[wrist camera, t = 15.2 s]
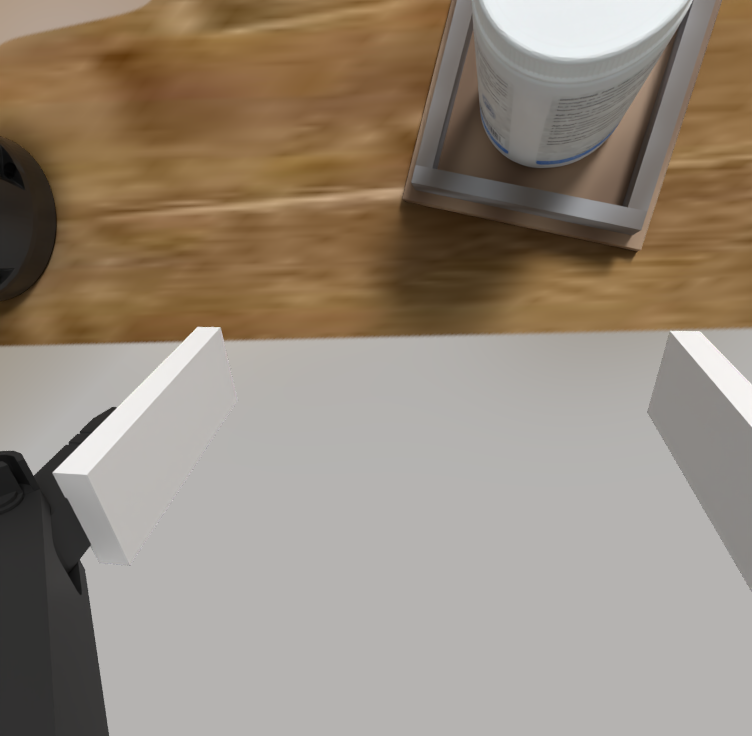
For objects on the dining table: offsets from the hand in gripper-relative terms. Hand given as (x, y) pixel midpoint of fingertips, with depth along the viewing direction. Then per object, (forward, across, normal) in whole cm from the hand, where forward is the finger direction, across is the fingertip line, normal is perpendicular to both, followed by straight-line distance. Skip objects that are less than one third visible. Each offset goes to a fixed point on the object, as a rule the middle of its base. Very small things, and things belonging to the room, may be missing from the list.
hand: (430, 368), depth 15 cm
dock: (+28, +7, +5) cm, 29 cm away
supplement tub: (+27, +7, +6) cm, 28 cm away
